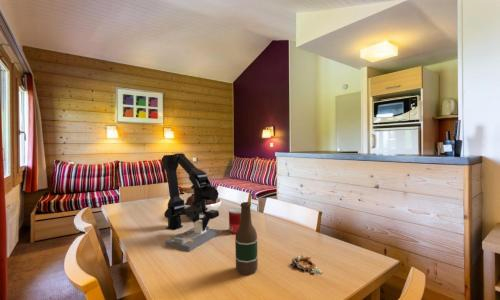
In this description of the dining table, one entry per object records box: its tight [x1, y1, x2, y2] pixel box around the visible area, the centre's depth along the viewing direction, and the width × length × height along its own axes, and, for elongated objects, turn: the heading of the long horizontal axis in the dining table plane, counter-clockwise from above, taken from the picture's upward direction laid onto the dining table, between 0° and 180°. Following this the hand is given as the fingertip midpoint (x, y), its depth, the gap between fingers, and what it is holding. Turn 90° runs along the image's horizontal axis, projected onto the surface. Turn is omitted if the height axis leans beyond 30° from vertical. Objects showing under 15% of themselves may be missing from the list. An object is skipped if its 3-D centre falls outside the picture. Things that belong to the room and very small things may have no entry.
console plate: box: [164, 225, 220, 252], centre depth 119 cm, size 14×22×4 cm, turn 152°
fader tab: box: [193, 219, 206, 234], centre depth 123 cm, size 4×4×5 cm
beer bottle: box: [234, 201, 259, 276], centre depth 89 cm, size 8×8×24 cm
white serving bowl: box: [183, 193, 222, 219], centre depth 157 cm, size 25×25×15 cm
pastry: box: [288, 254, 323, 276], centre depth 91 cm, size 7×12×4 cm, turn 50°
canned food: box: [228, 208, 241, 235], centre depth 129 cm, size 8×8×11 cm
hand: (200, 229), depth 123 cm, fingers closed on fader tab, 4 cm apart
